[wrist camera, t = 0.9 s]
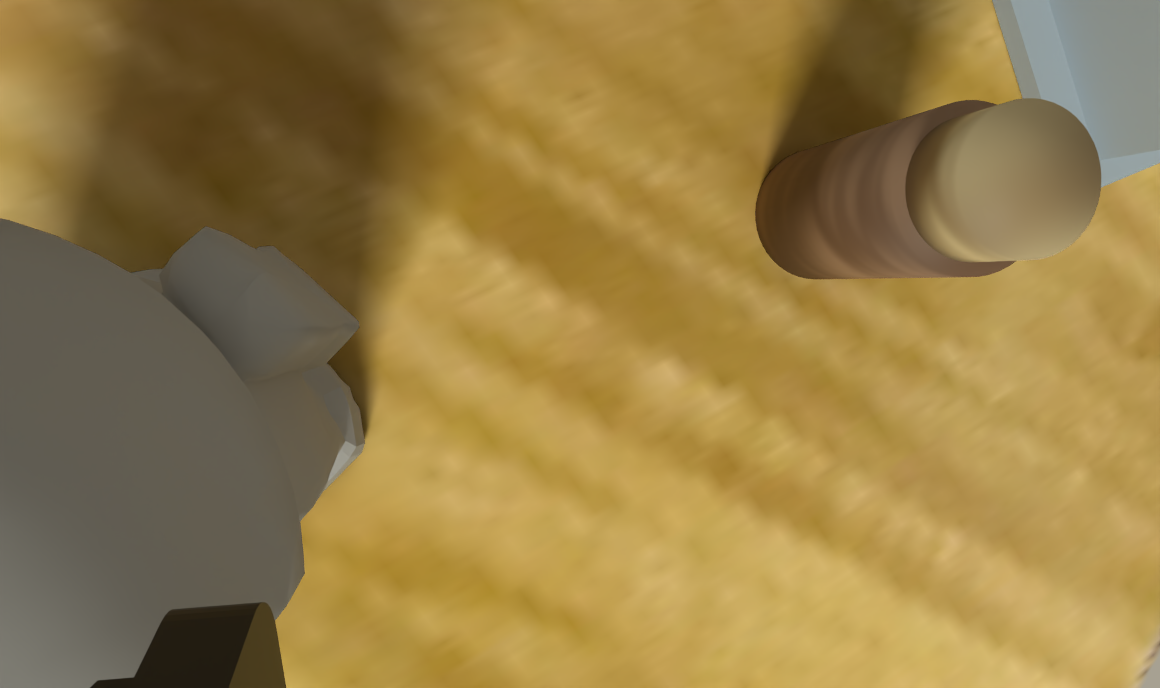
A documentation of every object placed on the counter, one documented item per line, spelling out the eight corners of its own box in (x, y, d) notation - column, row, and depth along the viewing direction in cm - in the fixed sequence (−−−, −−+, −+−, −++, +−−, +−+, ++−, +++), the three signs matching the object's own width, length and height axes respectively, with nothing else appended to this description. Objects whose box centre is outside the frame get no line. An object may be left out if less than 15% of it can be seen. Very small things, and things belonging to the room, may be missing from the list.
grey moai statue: (178, 168, 33) (-540, -281, 8) (433, 358, 34) (487, 470, 10) (-112, 529, 32) (-1989, 1299, 7) (165, 708, 33) (-556, 1861, 8)
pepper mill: (737, 175, 36) (917, 119, 24) (852, 131, 37) (1082, 55, 25) (781, 298, 37) (978, 304, 25) (892, 252, 38) (1137, 235, 25)
